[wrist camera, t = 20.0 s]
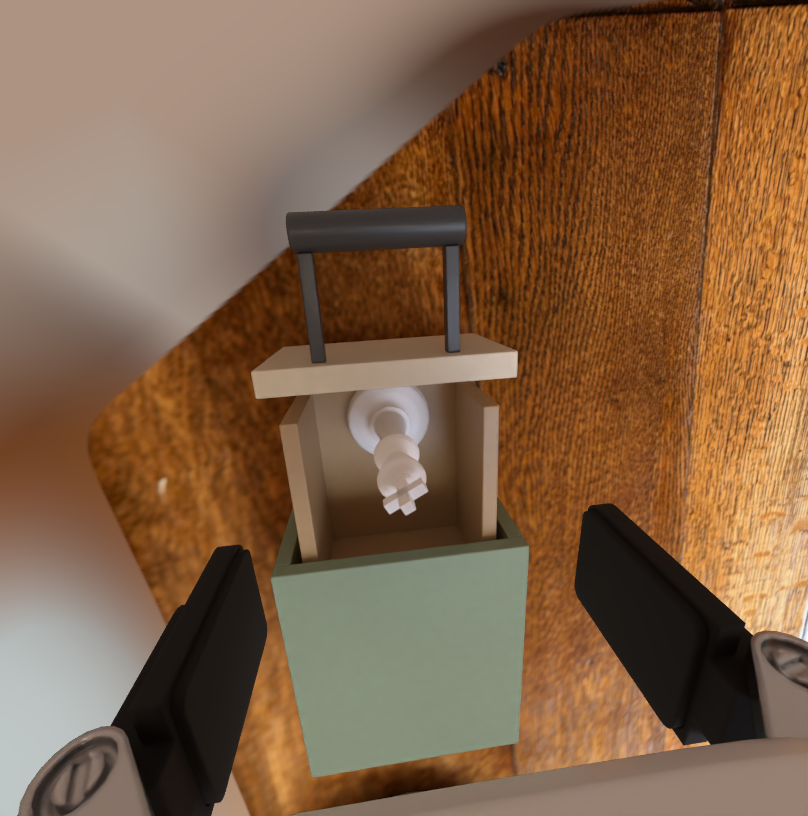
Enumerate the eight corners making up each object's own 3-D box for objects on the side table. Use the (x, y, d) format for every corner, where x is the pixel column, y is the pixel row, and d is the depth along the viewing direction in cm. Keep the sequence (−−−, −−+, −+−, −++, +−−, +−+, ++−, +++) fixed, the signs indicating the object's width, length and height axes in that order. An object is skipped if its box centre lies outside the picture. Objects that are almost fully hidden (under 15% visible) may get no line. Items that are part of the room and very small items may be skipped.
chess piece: (443, 427, 23) (498, 522, 14) (375, 467, 24) (385, 587, 14) (402, 360, 22) (433, 416, 12) (330, 404, 22) (307, 493, 13)
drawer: (265, 235, 20) (219, 210, 14) (474, 225, 21) (524, 197, 15) (313, 541, 26) (298, 624, 20) (473, 522, 27) (509, 595, 21)
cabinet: (298, 485, 26) (269, 578, 18) (478, 467, 27) (530, 545, 19) (324, 646, 30) (311, 778, 22) (477, 624, 31) (518, 743, 23)
